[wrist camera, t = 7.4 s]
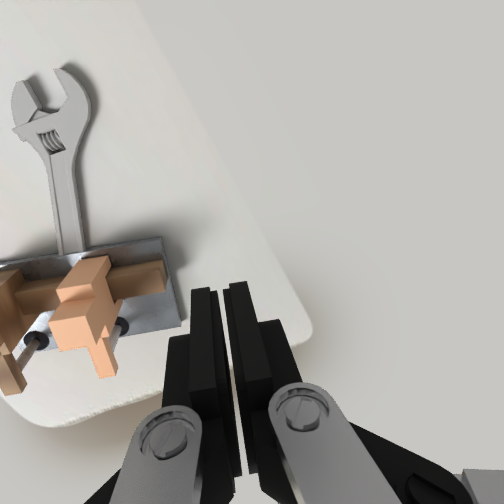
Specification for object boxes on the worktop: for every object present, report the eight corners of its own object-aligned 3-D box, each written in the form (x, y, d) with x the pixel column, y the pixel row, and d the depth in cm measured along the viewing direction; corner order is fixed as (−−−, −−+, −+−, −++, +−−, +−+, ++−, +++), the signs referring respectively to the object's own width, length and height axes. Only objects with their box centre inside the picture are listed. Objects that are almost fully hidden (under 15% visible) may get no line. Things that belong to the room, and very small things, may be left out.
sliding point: (78, 260, 36) (41, 308, 28) (108, 255, 37) (79, 301, 28) (107, 340, 41) (82, 403, 32) (133, 336, 41) (115, 397, 32)
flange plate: (-13, 264, 37) (-20, 269, 36) (160, 236, 38) (159, 240, 37) (27, 348, 41) (22, 354, 40) (181, 321, 42) (181, 327, 41)
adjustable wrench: (97, 313, 41) (93, 321, 40) (37, 310, 40) (30, 319, 38) (92, 77, 32) (86, 76, 30) (12, 64, 31) (2, 62, 29)
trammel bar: (-14, 273, 36) (-82, 328, 27) (158, 246, 37) (145, 290, 28) (25, 354, 40) (-24, 423, 32) (179, 326, 41) (172, 386, 33)
